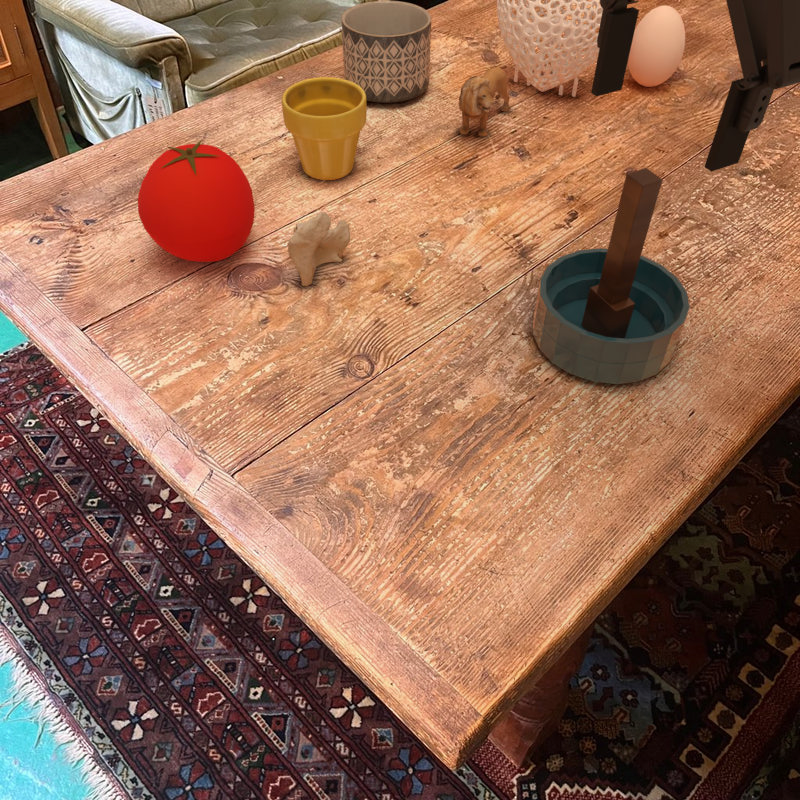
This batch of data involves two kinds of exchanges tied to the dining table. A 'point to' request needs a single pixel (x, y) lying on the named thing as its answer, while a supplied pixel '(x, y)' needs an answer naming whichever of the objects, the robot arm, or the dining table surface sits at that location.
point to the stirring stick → (622, 257)
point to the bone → (317, 244)
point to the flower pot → (325, 124)
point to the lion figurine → (482, 98)
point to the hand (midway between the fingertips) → (659, 126)
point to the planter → (387, 49)
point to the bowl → (598, 355)
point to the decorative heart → (550, 39)
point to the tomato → (197, 203)
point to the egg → (657, 46)
